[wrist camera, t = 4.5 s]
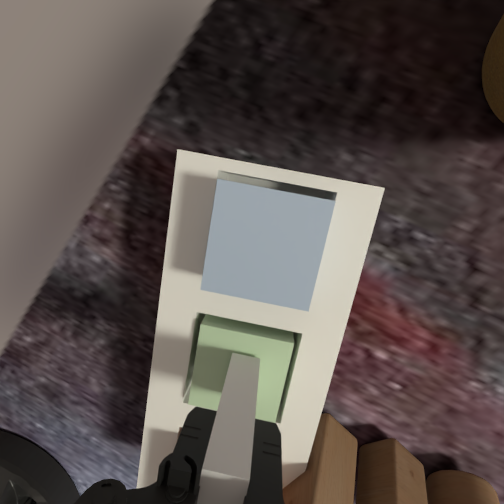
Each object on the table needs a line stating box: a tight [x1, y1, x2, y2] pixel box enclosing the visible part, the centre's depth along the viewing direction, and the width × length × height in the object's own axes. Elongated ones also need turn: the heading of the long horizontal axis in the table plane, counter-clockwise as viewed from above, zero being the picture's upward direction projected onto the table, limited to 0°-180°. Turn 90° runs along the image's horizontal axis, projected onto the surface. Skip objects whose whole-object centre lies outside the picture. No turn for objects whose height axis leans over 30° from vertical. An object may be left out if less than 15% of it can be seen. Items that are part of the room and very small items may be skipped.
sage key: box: [188, 314, 294, 423], centre depth 18 cm, size 5×5×4 cm
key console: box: [137, 149, 385, 488], centre depth 18 cm, size 10×22×4 cm, turn 170°
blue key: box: [200, 179, 336, 312], centre depth 14 cm, size 5×5×4 cm
